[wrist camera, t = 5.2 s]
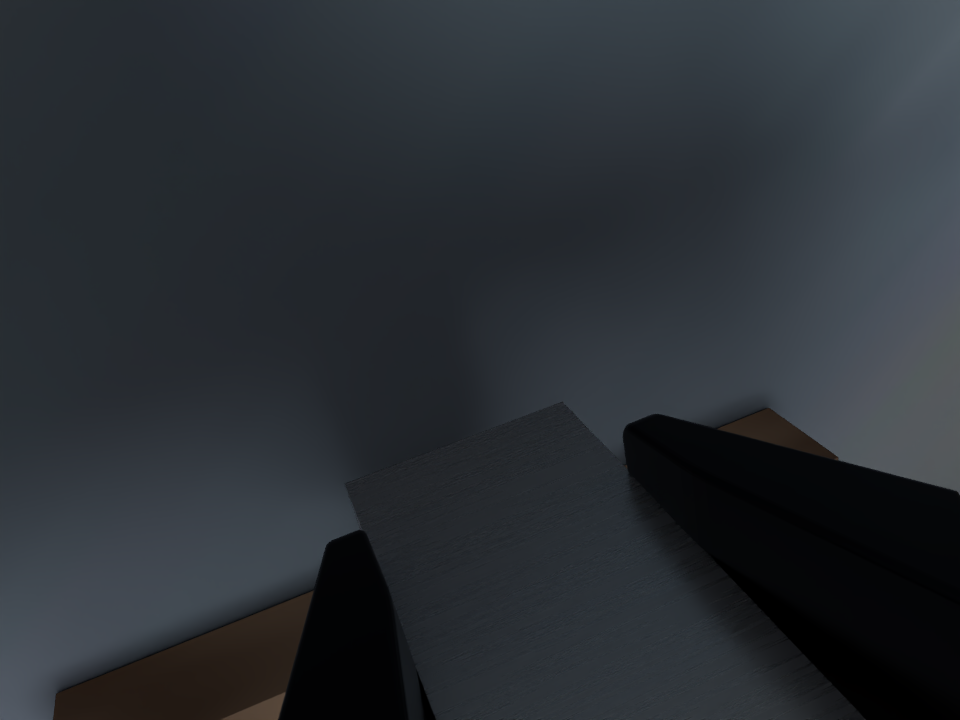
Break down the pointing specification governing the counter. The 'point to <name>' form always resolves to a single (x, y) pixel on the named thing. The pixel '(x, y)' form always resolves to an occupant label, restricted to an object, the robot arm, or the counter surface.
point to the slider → (569, 590)
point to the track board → (265, 648)
